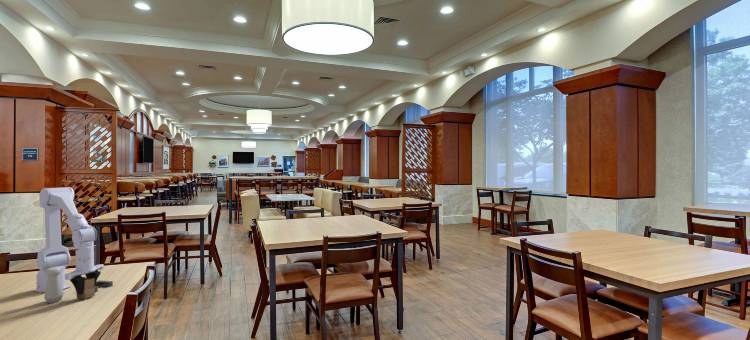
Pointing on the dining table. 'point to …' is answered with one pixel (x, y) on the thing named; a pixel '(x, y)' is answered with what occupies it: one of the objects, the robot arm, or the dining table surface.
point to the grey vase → (53, 286)
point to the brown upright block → (87, 289)
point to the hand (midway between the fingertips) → (85, 292)
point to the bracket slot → (103, 284)
